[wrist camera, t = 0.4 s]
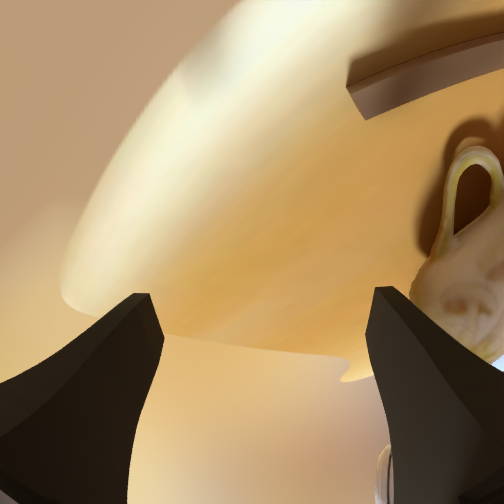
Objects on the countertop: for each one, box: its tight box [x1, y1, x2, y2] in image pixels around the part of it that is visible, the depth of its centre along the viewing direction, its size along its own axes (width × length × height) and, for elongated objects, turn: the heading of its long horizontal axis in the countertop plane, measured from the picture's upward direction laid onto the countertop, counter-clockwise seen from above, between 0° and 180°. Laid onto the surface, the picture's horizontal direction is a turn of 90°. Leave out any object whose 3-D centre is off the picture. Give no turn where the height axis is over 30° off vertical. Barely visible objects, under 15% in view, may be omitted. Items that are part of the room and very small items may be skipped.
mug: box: [409, 145, 504, 365], centre depth 11 cm, size 8×10×10 cm
